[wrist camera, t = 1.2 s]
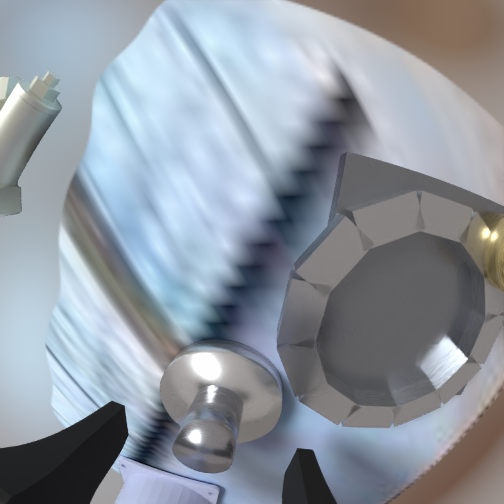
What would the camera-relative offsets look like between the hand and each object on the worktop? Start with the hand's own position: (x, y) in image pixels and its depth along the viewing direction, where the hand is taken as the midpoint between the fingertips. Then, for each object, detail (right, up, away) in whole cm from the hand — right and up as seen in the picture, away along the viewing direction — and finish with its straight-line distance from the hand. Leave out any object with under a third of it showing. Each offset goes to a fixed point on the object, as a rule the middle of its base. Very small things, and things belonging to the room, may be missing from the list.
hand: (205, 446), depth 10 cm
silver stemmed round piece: (0, +1, +4) cm, 4 cm away
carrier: (+9, +6, +2) cm, 11 cm away
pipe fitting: (-11, +14, +3) cm, 18 cm away
